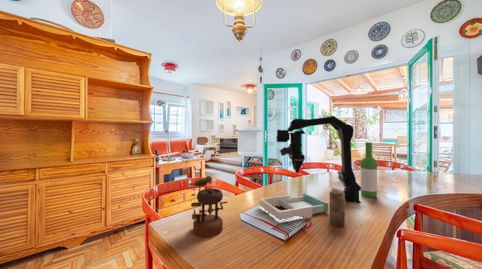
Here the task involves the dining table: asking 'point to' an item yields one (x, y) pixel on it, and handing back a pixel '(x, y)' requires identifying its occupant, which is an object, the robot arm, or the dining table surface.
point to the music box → (207, 223)
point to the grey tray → (305, 203)
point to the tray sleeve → (284, 214)
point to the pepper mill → (337, 207)
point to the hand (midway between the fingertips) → (295, 171)
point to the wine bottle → (369, 173)
